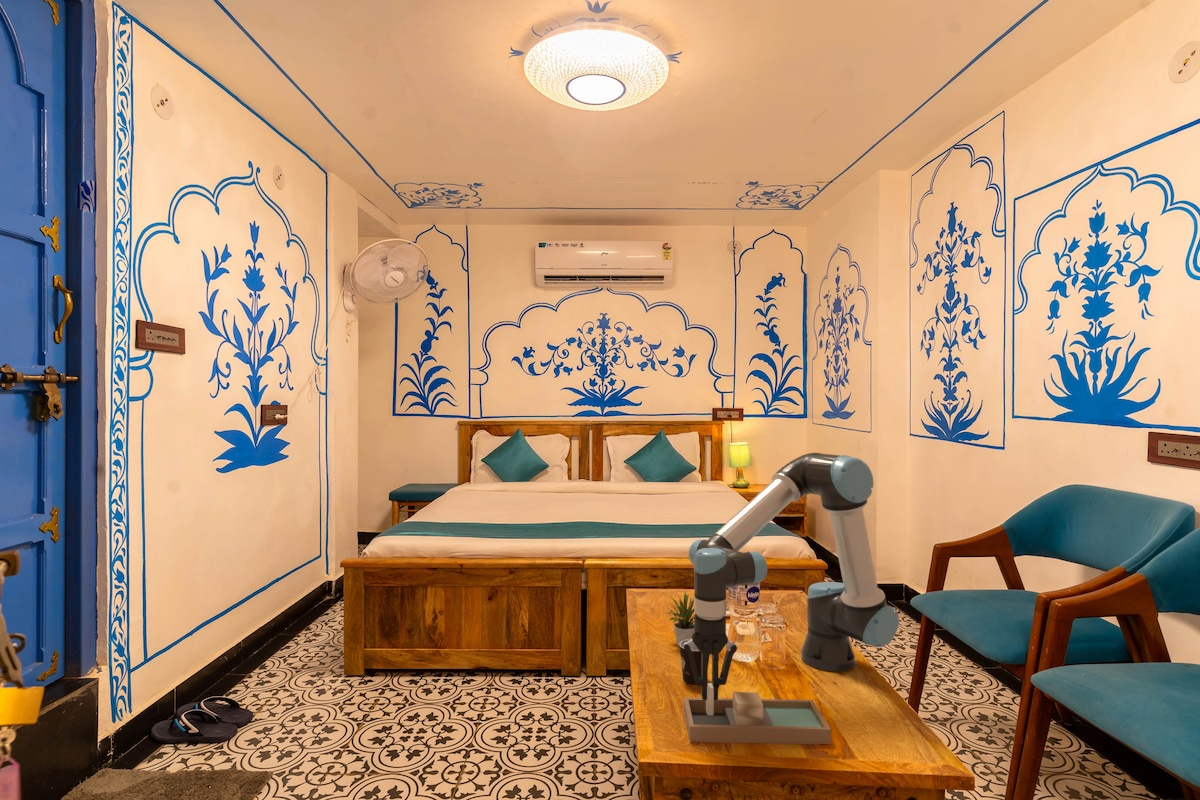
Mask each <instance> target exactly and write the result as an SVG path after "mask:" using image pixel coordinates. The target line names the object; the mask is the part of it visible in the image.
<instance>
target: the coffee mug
mask: <svg viewBox="0 0 1200 800" xmlns="http://www.w3.org/2000/svg"><path fill="white" fill-rule="evenodd" d="M689 640H691V639H686V640H683V641H681V642H680V643H679V646H680V647H679V646H678V647H679V653H680V662H681V663H680V665H681V673H682V681H683V680H684V681H683V683H685V682H686V683H687V684H686V683H685V684H686V685H688V684H690V685H689V686H692V685H696V684H695V681H694V677H693V673H692V668H691V664H690V660H689V656H688V654H687V652H686V651H685V649H684V646H683V642H684V641H687V642H688V641H689ZM693 647H694V649H693V650H692V651H693V655H694V659H695V663H696V667H697V672H698V676H699V677H700V678H701V652H700V651H699V649H698V648H697V647H696V645H695V644H694V645H693ZM710 655H711V654H709V655H708V665H709V664H710V663H709V662H710Z"/></svg>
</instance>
